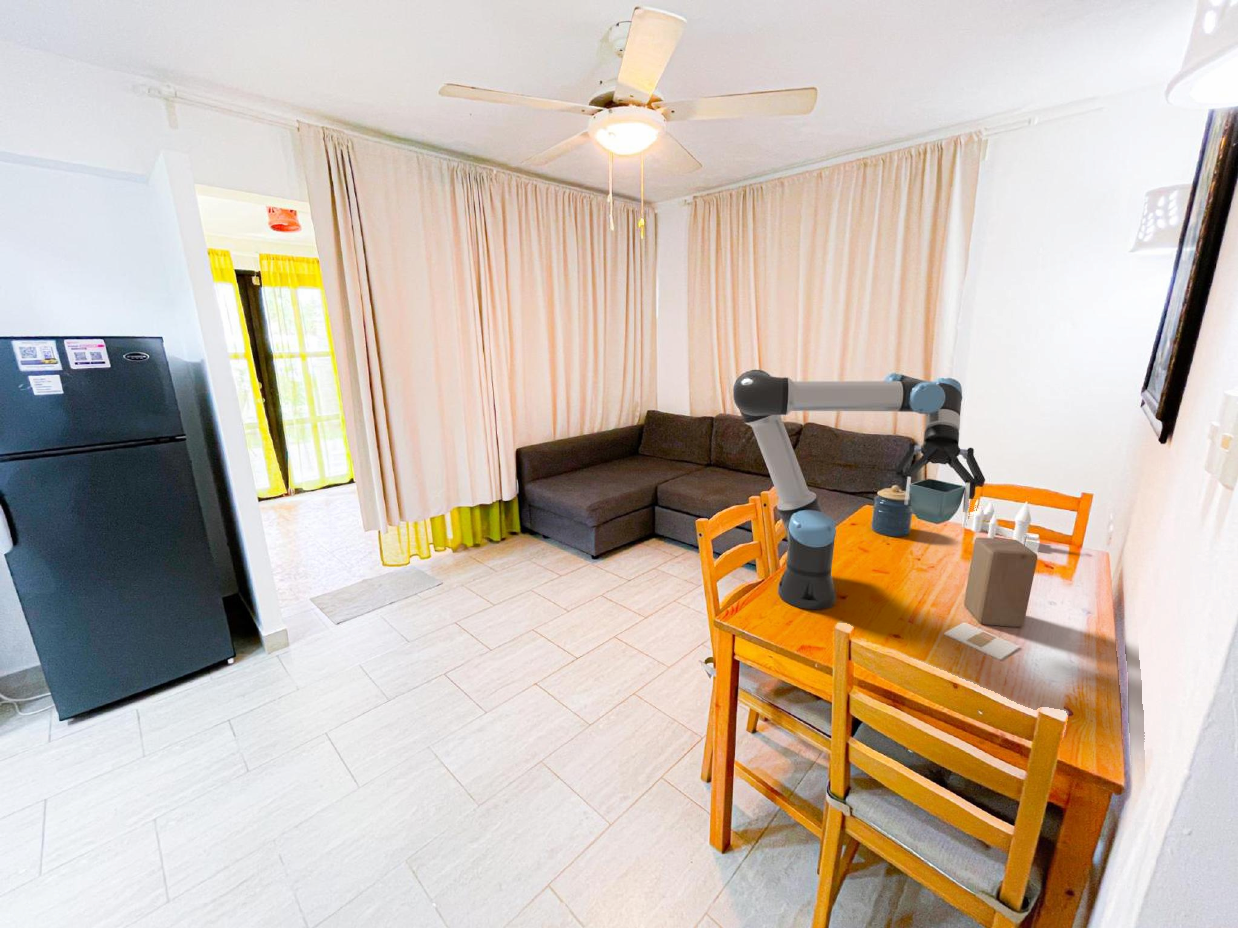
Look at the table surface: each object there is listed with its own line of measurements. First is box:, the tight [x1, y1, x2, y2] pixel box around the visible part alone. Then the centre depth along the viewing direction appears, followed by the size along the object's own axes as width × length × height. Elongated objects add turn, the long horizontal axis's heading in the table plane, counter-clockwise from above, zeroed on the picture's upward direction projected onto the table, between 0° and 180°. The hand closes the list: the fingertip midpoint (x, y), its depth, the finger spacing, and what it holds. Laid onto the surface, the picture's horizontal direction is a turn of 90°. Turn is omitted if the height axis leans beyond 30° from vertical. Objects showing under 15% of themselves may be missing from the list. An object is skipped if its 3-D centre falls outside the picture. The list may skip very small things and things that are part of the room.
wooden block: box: [963, 537, 1039, 628], centre depth 128 cm, size 10×10×20 cm
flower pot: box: [909, 478, 966, 525], centre depth 122 cm, size 9×9×9 cm
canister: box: [870, 484, 914, 538], centre depth 186 cm, size 13×13×18 cm
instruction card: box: [944, 622, 1021, 661], centre depth 120 cm, size 12×9×1 cm
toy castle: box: [961, 498, 1041, 553], centre depth 180 cm, size 14×25×16 cm, turn 32°
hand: (935, 505), depth 121 cm, fingers closed on flower pot, 11 cm apart
